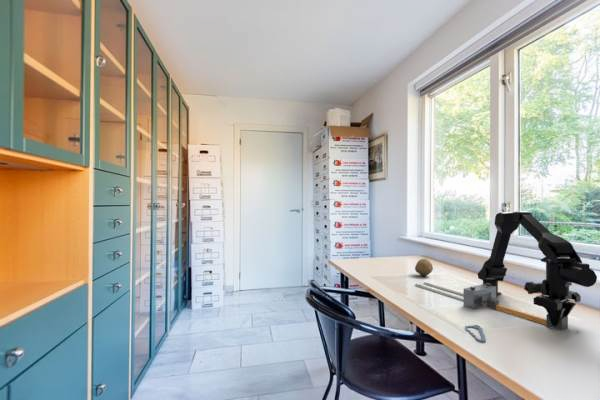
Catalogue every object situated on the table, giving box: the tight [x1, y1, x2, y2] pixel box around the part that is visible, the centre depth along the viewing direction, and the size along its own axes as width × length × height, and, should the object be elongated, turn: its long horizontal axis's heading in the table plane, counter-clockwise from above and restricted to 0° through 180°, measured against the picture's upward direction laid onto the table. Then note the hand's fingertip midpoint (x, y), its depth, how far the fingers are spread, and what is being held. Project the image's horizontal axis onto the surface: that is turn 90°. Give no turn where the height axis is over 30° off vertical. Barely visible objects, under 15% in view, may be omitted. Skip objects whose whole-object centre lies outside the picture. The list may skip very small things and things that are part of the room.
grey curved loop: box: [464, 324, 486, 343], centre depth 88 cm, size 12×1×5 cm
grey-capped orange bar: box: [486, 298, 569, 332], centre depth 101 cm, size 24×4×4 cm, turn 28°
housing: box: [414, 281, 497, 310], centre depth 126 cm, size 16×32×8 cm, turn 28°
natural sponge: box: [414, 258, 434, 277], centre depth 157 cm, size 9×9×10 cm
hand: (557, 324), depth 93 cm, fingers closed on grey-capped orange bar, 4 cm apart
